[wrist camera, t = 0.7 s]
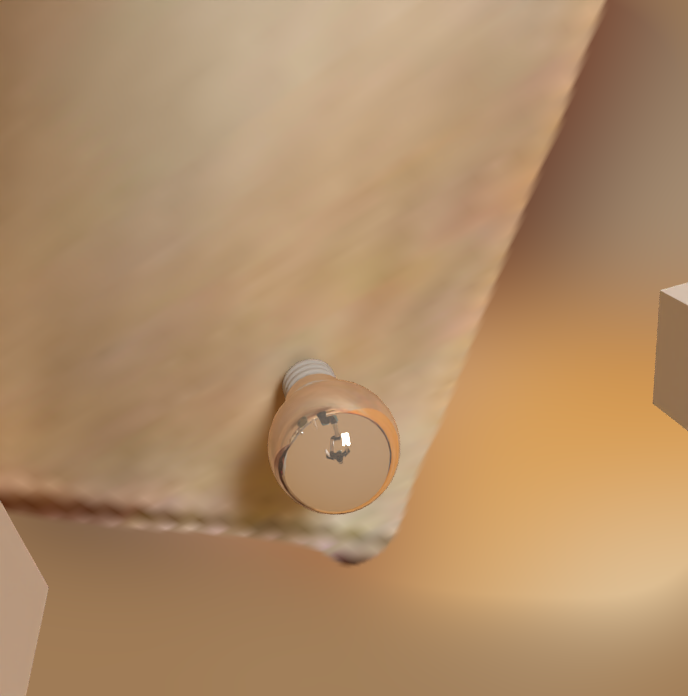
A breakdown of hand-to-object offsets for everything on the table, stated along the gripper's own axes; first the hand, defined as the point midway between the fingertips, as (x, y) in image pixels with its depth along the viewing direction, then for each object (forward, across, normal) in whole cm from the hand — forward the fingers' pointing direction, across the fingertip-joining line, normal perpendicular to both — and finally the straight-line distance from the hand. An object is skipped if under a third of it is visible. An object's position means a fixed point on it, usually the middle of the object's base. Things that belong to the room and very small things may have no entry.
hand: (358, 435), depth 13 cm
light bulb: (+26, +1, -13) cm, 29 cm away
